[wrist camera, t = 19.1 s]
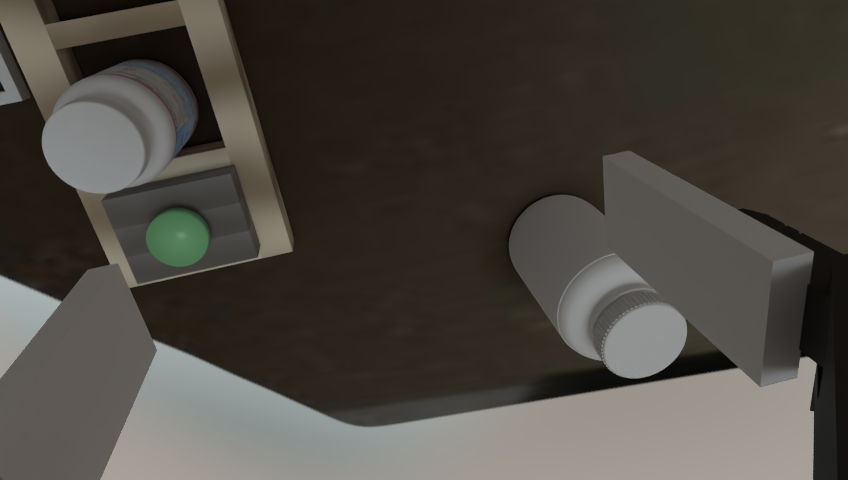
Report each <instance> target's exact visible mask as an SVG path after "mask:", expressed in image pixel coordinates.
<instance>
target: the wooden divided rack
mask: <svg viewBox="0 0 848 480" xmlns="http://www.w3.org/2000/svg"><path fill="white" fill-rule="evenodd" d="M0 23H1V25H2V27H3V29H4V32H5V34H6V36H7V38H8V40H9V43H10V45H11V47H12V49H13V51H14V54H15V56H16V58H17V60H18V62H19V65H20V67H21V69H22V71H23V73H24V76H25V78H26V80H27V82H28V84H29V87H30V89H31V91H32V93H33V95H34V98H35V100H36V102H37V104H38V106H39V109H40V111H41V113H42V115H43V117H44V120H45V122H47V120H48V119H49V118H50V116H51V115H52V113H53V109H54V106H55V104H56V102H57V100H58V99H59V97H60V96H61V95H62V93H63V92H64V91H65V90H66V89H68V88H69V87H70V86H71V85H73V84H74V83H76V82H78V81H80V80H82V79H84V77H83V74H82V72H81V70H80V67H79V65H78V62H77V60H76V57H75V55H74V53H73V50H72V48H71V47H73V46H79V45H84V44H89V43H94V42H100V41H105V40H110V39H115V38H121V37H126V36H131V35H136V34H142V33H147V32H152V31H157V30H163V29H168V28H173V27H178V26H184V25H186V27H187V30H188V33H189V36H190V39H191V43H192V46H193V49H194V52H195V55H196V58H197V61H198V64H199V67H200V70H201V73H202V76H203V79H204V82H205V85H206V89H207V92H208V95H209V98H210V101H211V104H212V107H213V110H214V113H215V116H216V119H217V122H218V125H219V128H220V131H221V135H222V138H223V140H222V141H217V142H212V143H207V144H202V145H197V146H193V147H188V148H183V149H181V150H180V151H179V152H178V153H177V155H176V156H175V157H174V158H173V160H172V161H171V162H170V163H169V164H168V166H167V167H166V168H165V169H164V170H163V171H162V172H161V173H160V174H159V175H158V176H157V177H155V178H154V179H152V180H151V181H149V182H147V183H145V184H142V185H139V186H135V187H129V188H124V189H122V190H119V191H116V192H112V193H106V194H97V193H89V192H85V191H82V190H79V189H77V188H76V190H77V192H78V194H79V196H80V199H81V201H82V203H83V205H84V207H85V210H86V212H87V214H88V216H89V218H90V221H91V223H92V225H93V227H94V229H95V232H96V234H97V236H98V238H99V240H100V243H101V245H102V247H103V249H104V251H105V254H106V256H107V258H108V260H109V262H110V265H112V264H117V263H118V264H119V267H120V269H121V271H122V273H123V276H124V278H125V280H126V282H127V285H128V287H129V288H131V287H136V286H140V285H145V284H149V283H154V282H158V281H163V280H167V279H172V278H176V277H180V276H185V275H189V274H194V273H198V272H203V271H207V270H212V269H216V268H221V267H225V266H230V265H234V264H239V263H243V262H247V261H252V260H256V259H261V258H265V257H270V256H274V255H279V254H283V253H288V252H292V251H293V242H294V237H293V233H292V230H291V227H290V223H289V220H288V216H287V213H286V210H285V206H284V203H283V199H282V196H281V193H280V189H279V186H278V182H277V179H276V176H275V172H274V169H273V165H272V162H271V159H270V155H269V152H268V148H267V145H266V142H265V138H264V135H263V131H262V128H261V125H260V121H259V118H258V114H257V111H256V108H255V104H254V101H253V97H252V94H251V91H250V87H249V84H248V80H247V77H246V74H245V70H244V67H243V63H242V60H241V57H240V53H239V50H238V47H237V43H236V40H235V36H234V33H233V30H232V26H231V23H230V19H229V16H228V13H227V9H226V6H225V2H224V0H175V1H169V2H164V3H159V4H153V5H148V6H143V7H137V8H132V9H127V10H121V11H116V12H111V13H105V14H100V15H95V16H89V17H84V18H79V19H73V20H68V21H62V22H61V21H60V19H59V16H58V14H57V11H56V9H55V7H54V4H53V2H52V0H0ZM170 208H185V209H189V210H191V211H194V212H195V213H197V214H198V215H200V216H201V217H202V218H203V219H204V220H205V221H206V223H207V225H208V227H209V230H210V242H209V245H208V248H207V250H206V252H205V254H204V256H203V257H202V258H201V259H200V260H199V261H197V262H196V263H194V264H192V265H189V266H184V267H175V266H170V265H167V264H165V263H162V262H161V261H159V260H158V259H156V258H155V257H154V256H153V255H152V253H151V252H150V251H149V249H148V246H147V243H146V232H147V229H148V227H149V225H150V224H151V223H152V221H153V220H154V218H155V217H156V216H157V215H158V214H159V213H161V212H162V211H164V210H167V209H170Z"/></svg>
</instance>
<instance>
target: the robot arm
mask: <svg viewBox="0 0 848 480" xmlns="http://www.w3.org/2000/svg"><path fill="white" fill-rule="evenodd" d="M603 174H604V200H605V226H606V246H607V247H609V248H610V249H611V250H612V251H613V252H614V253H615V254H616V255H617V256H618V257H619V258H620V259H622V260H623V261H624V262H625V263H626V264H627V265H628V266H629V267H630V268H631V269H632V270H634V271H635V272H636V273H637V274H638V275H639V276H640V277H641V278H642V279H643V280H644V281H645V282H647V283H648V284H649V285H650V286H651V287H652V288H653V289H654V290H655V291H656V292H657V293H659V294H660V295H661V296H662V297H663V298H664V299H665V300H666V301H667V302H668V303H669V304H670V305H672V306H673V307H674V308H675V309H676V310H677V311H678V312H679V313H680V314H681V315H682V316H684V317H685V318H686V319H687V320H688V321H689V322H690V323H691V324H692V325H693V326H694V327H695V328H697V329H698V330H699V331H700V332H701V333H702V334H703V335H704V336H705V337H706V338H707V339H709V340H710V341H711V342H712V343H713V344H714V345H715V346H716V347H717V348H718V349H719V350H720V351H722V352H723V353H724V354H725V355H726V356H727V357H728V358H729V359H730V360H731V361H732V362H734V363H735V364H736V365H737V366H738V367H739V368H740V369H741V370H743V372H744V373H745V374H747V375H748V376H749V377H750V378H751V379H752V380H753V381H754V382H755V383H756V384H758V385H759V386H760V387H763V386H767V385H770V384H774V383H778V382H782V381H786V380H790V379H794V378H797V375H798V368H799V360H800V353H801V351H802V352H803V353H804V354H805V355H807V356H808V357H809V358H811V359H812V360H813V361H815V362H816V363H817V367H816V374H815V380H814V387H813V393H812V400H811V407H810V411H814V461H813V465H814V466H813V480H848V254H844V255H843V254H841V253H840V252H838V251H836V250H834V249H832V248H830V247H828V246H826V245H824V244H822V243H820V242H818V241H817V240H815V239H813V238H811V237H809V236H807V235H805V234H803V233H802V234H800V233H799V231H797V230H795V229H794V228H792V227H790V226H785V224H784V223H782V222H780V221H778V220H776V219H774V218H772V217H770V216H769V215H767V214H763V213H759V212H755V211H751V210H747V209H743V208H742V209H738V210H737V209H735V208H733V207H731V206H730V205H728V204H726V203H724V202H722V201H720V200H719V199H717V198H715V197H713V196H711V195H709V194H708V193H706V192H704V191H702V190H700V189H699V188H697V187H695V186H693V185H691V184H689V183H688V182H686V181H684V180H682V179H680V178H678V177H677V176H675V175H673V174H671V173H669V172H667V171H666V170H664V169H662V168H660V167H658V166H656V165H655V164H653V163H651V162H649V161H647V160H645V159H644V158H642V157H640V156H638V155H636V154H634V153H633V152H631V151H625V152H621V153H616V154H612V155H607V156H603ZM156 351H157V349H156V347H155V345H154V343H153V340H152V338H151V336H150V334H149V331H148V329H147V327H146V325H145V322H144V320H143V318H142V316H141V314H140V311H139V309H138V307H137V305H136V302H135V300H134V298H133V296H132V293H131V291H130V289H129V287H128V285H127V282H126V280H125V278H124V276H123V273H122V271H121V269H120V267H119V264H118V263H117V264H112V265H108V266H103V267H99V268H94V269H89V270H87V271H86V273H85V274H84V275H83V276H82V278H81V279H80V280H79V281H78V283H77V284H76V285H75V286H74V288H73V289H72V290H71V291H70V293H69V294H68V295H67V296H66V298H65V299H64V300H63V301H62V303H61V304H60V305H59V306H58V308H57V309H56V310H55V311H54V313H53V314H52V315H51V316H50V318H49V319H48V320H47V321H46V323H45V324H44V325H43V326H42V328H41V329H40V330H39V331H38V333H37V334H36V335H35V336H34V338H33V339H32V340H31V341H30V343H29V344H28V345H27V346H26V348H25V349H24V350H23V352H22V353H21V354H20V355H19V357H18V358H17V359H16V360H15V361H14V363H13V364H12V365H11V366H10V368H9V369H8V370H7V371H6V373H5V374H4V375H3V377H2V378H1V379H0V480H100V479H101V477H102V474H103V472H104V470H105V467H106V465H107V462H108V461H109V458H110V456H111V454H112V451H113V449H114V447H115V445H116V442H117V440H118V438H119V435H120V433H121V431H122V429H123V426H124V424H125V422H126V419H127V417H128V415H129V413H130V410H131V408H132V406H133V403H134V401H135V399H136V397H137V394H138V392H139V390H140V387H141V385H142V383H143V380H144V378H145V376H146V374H147V371H148V369H149V367H150V365H151V362H152V360H153V358H154V355H155V353H156Z"/></svg>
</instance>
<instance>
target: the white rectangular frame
mask: <svg viewBox="0 0 848 480" xmlns="http://www.w3.org/2000/svg"><path fill="white" fill-rule="evenodd" d="M0 81H1V83H2V85H3V88H4V91H0V105H4V104H9V103H14V102H19V101H23V100H26V99H28V98H31V96H30V93H29V91H28V89H27V87H26V85H25V83H24V80H23V78H22V76H21V74H20V72H19V69H18V67H17V65H16V63H15V61H14V59H13V56H12V54H11V52H10V50H9V48H8V45H7V43H6V41H5V39H4V37H3V34H2V32H1V30H0Z"/></svg>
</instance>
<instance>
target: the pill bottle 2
mask: <svg viewBox="0 0 848 480" xmlns="http://www.w3.org/2000/svg"><path fill="white" fill-rule="evenodd" d="M509 254H510V258H511V261H512V263H513V265H514V268H515V269H516V271H517V272H518V274H519V275H520V277H521V278H522V280H523V281H524V283H525V284H526V286H527V287H528V289H529V290H530V292H531V293H532V294H533V296H534V297H535V299H536V300H537V302H538V303H539V305H540V306H541V308H542V309H543V311H544V312H545V314H546V315H547V317H548V318H549V319H550V321H551V322H552V324H553V325H554V327H555V328H556V330H557V331H558V333H559V334H560V336H561V337H562V338H563V340H564V341H565V342H566V343H567V344H568V345H569V346H570V347H571V348H572V349H573V350H575V351H576V352H578V353H580V354H581V355H583V356H586V357H588V358H591V359H595V360H602V361H603V362H604V364H605V365H606V366H607V368H608V369H610V371H612V372H613V373H615V374H616V375H619V376H622V377H626V378H642V377H647V376H650V375H653V374H655V373H657V372H659V371H661V370H663V369H664V368H666V367H667V366H668V365H669V364H671V363H672V362H673V361H674V360H675V359H676V357H677V356H678V355H679V353H680V352H681V350H682V348H683V346H684V344H685V341H686V337H687V325H686V321H685V318H684V316H682V315H681V314H680V313H679V312H678V311H677V310H676V309H675V308H674V307H673V306H672V305H670V304H669V303H668V302H667V301H666V300H665V299H664V298H663V297H662V296H661V295H660V294H659V293H657V292H656V291H655V290H654V289H653V288H652V287H651V286H650V285H649V284H648V283H647V282H645V281H644V280H643V279H642V278H641V277H640V276H639V275H638V274H637V273H636V272H635V271H634V270H632V269H631V268H630V267H629V266H628V265H627V264H626V263H625V262H624V261H623V260H622V259H620V258H619V257H618V256H617V255H616V254H615V253H614V252H613V251H612V250H611V249H610V248H609V247H607V246H606V226H605V216H604V215H603V214H602V213H601V212H600V211H598V210H597V209H596V208H595V207H594V206H592V205H591V204H590V203H588V202H586V201H585V200H583V199H581V198H578V197H575V196H571V195H553V196H549V197H546V198H543V199H541V200H539V201H537V202H535V203H533V204H532V205H531V206H529V207H528V208H527V209H526V210H525V211H524V212H523V213H522V214H521V215H520V216H519V218H518V219H517V221H516V222H515V224H514V226H513V228H512V231H511V234H510V238H509Z"/></svg>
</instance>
